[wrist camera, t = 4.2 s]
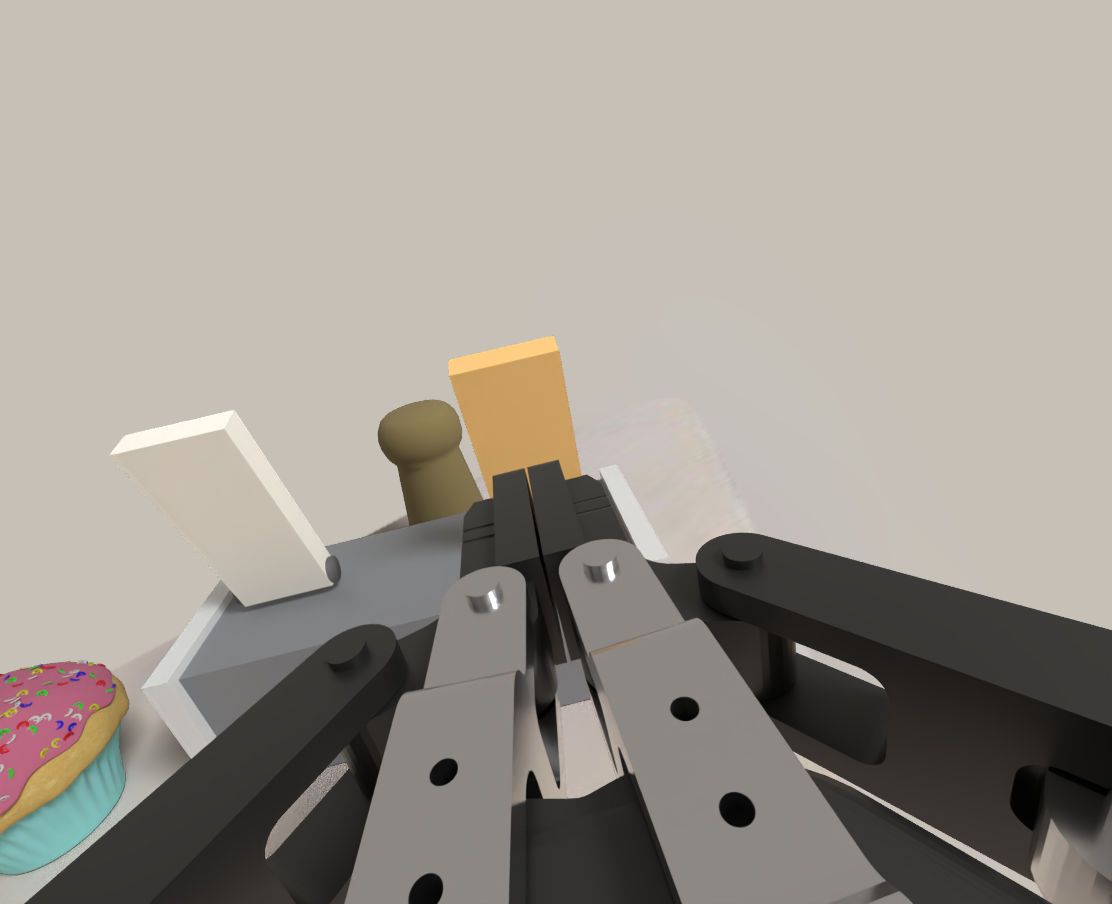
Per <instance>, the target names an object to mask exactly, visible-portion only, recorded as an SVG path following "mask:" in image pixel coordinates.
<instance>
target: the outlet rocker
mask: <svg viewBox="0 0 1112 904" xmlns="http://www.w3.org/2000/svg"><path fill="white" fill-rule="evenodd" d="M449 377H450V380H451V383H452V386H453V389H454V392H455V395H456V397H457V400H458V404H459V407H460V409H461V413H462V416H463V419H464V422H465V425H466V428H467V431H468V434H469V436H470V439H471V442H472V446H473V449H474V452H475V454H476V457H477V460H478V463H479V466H480V469H481V472H482V475H483V478H484V481H485V484H486V487H487V490H488V493H489V496H490V498H493V479H492V476H494V475H498V474H502V473H506V472H510V471H514V470H518V469H522V468H524V469H525V472H526V475H527V479H528V483H529V487H530V481H529V476H528V470H527V467H530V466H534V465H538V464H542V463H546V462H550V461H555V460H559V463H560V466H561V469H562V472H563V475H564V478H565V480H567V479H571V478H575V477H579V476H581V470H580V465H579V459H578V454H577V448H576V442H575V437H574V431H573V426H572V420H571V415H570V409H569V403H568V397H567V392H566V386H565V381H564V376H563V369H562V364H561V358H560V352H559V349H558V346H557V344H556V341H555V338H554V336H549V337H545V338H541V339H537V340H532V341H528V342H523V343H519V344H515V345H511V346H506V347H502V348H498V349H494V350H490V351H485V352H481V353H476V354H472V355H468V356H463V357H459V358H455V359H450V360H449ZM530 490H531V487H530ZM531 494H532V492H531ZM532 498H533V497H532Z"/></svg>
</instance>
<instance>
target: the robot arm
mask: <svg viewBox="0 0 1112 904" xmlns="http://www.w3.org/2000/svg"><path fill="white" fill-rule="evenodd" d="M527 470H528V476H529V481H530V487H531V490H530V487H529V483H528V479H527V475H526V472H525V469H524V468H522V469H518V470H514V471H510V472H506V473H502V474H498V475H494V476H492V479H493V498H490V499H486V500H482V501H478V502H474V503H473V505H472V506H471V507H470V509H469V510H468V512H467V513H466V514H465V516H464V521H463V536H462V543H463V545H462V551H461V567H460V580H458V581H457V582H456V583H455V584H453V585H452V586H451V587H450V589H449V590H448V591H447V593H446V594H445V596H444V599H443V602H442V606H441V611H440V615H439V618H438V619H437V620H435V621H434V622H432V623H431V624H429V625H427V626H425V627H424V628H422V629H420V630H418V631H416V632H413V633H411V634H409V635H407V636H405V637H403V638H401V639H399V640H397V639H396V636H395V634H394V632H393V631H392V630H391V629H390V628H389V627H387V626H384V625H380V624H365V625H361V626H357V627H354V628H351V629H348V630H346V631H344V632H342V633H340V634H338V635H336V636H334V637H333V638H331V639H330V640H328V641H327V642H326V643H325V644H323V645H322V646H321V647H320V648H318V649H317V650H316V651H315V652H314V653H313V654H312V655H310V656H309V657H308V658H307V659H306V660H305V661H303V662H302V663H301V664H300V665H299V666H298V667H297V668H295V669H294V670H293V671H292V672H291V673H290V674H288V675H287V676H286V677H285V678H284V679H283V680H282V681H280V682H279V683H278V684H277V685H276V686H275V687H274V688H272V689H271V690H270V691H269V692H268V693H267V694H265V695H264V696H263V697H262V698H261V699H260V700H259V701H257V702H256V703H255V704H254V705H253V706H252V707H250V708H249V709H248V710H247V711H246V712H245V713H244V714H242V715H241V716H240V717H239V718H238V719H237V720H235V721H234V722H233V723H232V724H231V725H230V726H229V727H227V728H226V729H225V730H224V731H223V732H222V733H221V734H219V735H218V736H217V737H216V738H215V739H214V740H212V741H211V742H210V743H209V744H208V745H207V746H206V747H204V748H203V749H202V750H201V751H200V752H199V753H197V754H196V755H195V756H194V757H193V758H192V759H191V760H189V761H188V762H187V763H186V764H185V765H184V766H182V767H181V768H180V769H179V770H178V771H177V772H176V773H174V774H173V775H172V776H171V777H170V778H169V779H167V780H166V781H165V782H164V783H163V784H162V785H161V786H159V787H158V788H157V789H156V790H155V791H154V792H153V793H151V794H150V795H149V796H148V797H147V798H146V799H144V800H143V801H142V802H141V803H140V804H139V805H138V806H136V807H135V808H134V809H133V810H132V811H131V812H129V813H128V814H127V815H126V816H125V817H124V818H123V819H121V820H120V821H119V822H118V823H117V824H116V825H114V826H113V827H112V828H111V829H110V830H109V831H108V832H106V833H105V834H104V835H103V836H102V837H101V838H99V839H98V840H97V841H96V842H95V843H94V844H93V845H91V846H90V847H89V848H88V849H87V850H86V851H85V852H83V853H82V854H81V855H80V856H79V857H78V858H76V859H75V860H74V861H73V862H72V863H71V864H70V865H68V866H67V867H66V868H65V869H64V870H63V871H61V872H60V873H59V874H58V875H57V876H56V877H55V878H53V879H52V880H51V881H50V882H49V883H48V884H46V885H45V886H44V887H43V888H42V889H41V890H40V891H38V892H37V893H36V894H35V895H34V896H33V897H32V898H30V899H29V900H28V901H27V902H26V903H25V904H1112V630H1109V629H1105V628H1102V627H1098V626H1094V625H1091V624H1087V623H1083V622H1080V621H1076V620H1072V619H1069V618H1064V617H1061V616H1057V615H1053V614H1050V613H1046V612H1042V611H1039V610H1036V609H1032V608H1028V607H1024V606H1021V605H1017V604H1014V603H1010V602H1006V601H1003V600H999V599H995V598H991V597H988V596H984V595H980V594H977V593H973V592H969V591H965V590H962V589H958V588H955V587H951V586H947V585H944V584H940V583H936V582H932V581H929V580H925V579H921V578H918V577H914V576H911V575H907V574H903V573H900V572H896V571H892V570H889V569H885V568H881V567H878V566H874V565H870V564H866V563H863V562H859V561H856V560H852V559H848V558H845V557H841V556H837V555H834V554H830V553H826V552H823V551H819V550H815V549H811V548H808V547H804V546H801V545H797V544H793V543H789V542H786V541H782V540H779V539H775V538H771V537H768V536H764V535H760V534H754V533H732V534H726V535H722V536H719V537H716V538H714V539H712V540H710V541H708V542H707V543H705V544H704V545H703V546H702V547H701V548H700V549H699V551H698V553H697V555H696V563H684V564H667V563H659V562H654V561H651V560H648V559H645V558H644V556H643V555H642V553H641V552H640V550H639V549H638V548H637V547H635V546H634V545H633V544H631V543H629V542H628V541H627V538H626V536H625V534H624V532H623V530H622V528H621V525H620V523H619V521H618V519H617V517H616V515H615V512H614V510H613V508H612V507H611V504H610V502H609V499H608V497H607V496H606V493H605V491H604V489H603V486H602V484H601V483H600V482H599V481H597V480H595V479H593V478H592V477H590V476H588V475H583V476H579V477H575V478H571V479H567V480H565V478H564V475H563V472H562V469H561V466H560V463H559V460H555V461H550V462H546V463H542V464H538V465H534V466H530V467H527ZM531 492H532V494H531ZM532 497H533V498H532ZM557 610H558V612H557ZM558 614H559V617H558ZM559 618H560V621H561V625H562V629H563V633H564V637H565V640H566V644H567V648H568V652H569V656H570V660H571V661H574V660H578V659H581V663H582V667H583V671H584V674H585V678H586V682H587V686H588V690H589V694H590V698H591V701H592V704H593V707H594V710H595V713H596V716H597V720H598V723H599V726H600V729H601V732H602V735H603V738H604V741H605V744H606V747H607V750H608V753H609V756H610V759H611V762H612V765H613V768H614V772H615V775H616V778H617V779H616V780H614V781H612V782H610V783H608V784H607V785H605V786H603V787H601V788H600V789H598V790H596V791H594V792H592V793H591V794H589V795H586V796H584V797H580V798H573V799H567V791H566V777H565V763H564V748H563V734H562V720H561V706H560V700H559V697H558V693H557V687H558V680H557V674H556V668H555V665H559V664H563V663H567V658H566V653H565V648H564V642H563V637H562V632H561V627H560V622H559ZM795 642H796V643H799V644H801V645H804V646H806V647H809V648H811V649H814V650H817V651H819V652H821V653H824V654H826V655H829V656H832V657H834V658H836V659H839V660H841V661H844V662H846V663H849V664H851V665H854V666H857V667H859V668H861V669H863V670H865V671H866V672H868V673H870V674H871V675H872V676H874V677H875V678H876V679H877V680H878V681H879V682H880V683H881V684H882V685H883V687H884V688H885V689H883V688H881V687H878V686H876V685H873V684H871V683H869V682H866V681H864V680H861V679H859V678H856V677H854V676H852V675H849V674H847V673H844V672H842V671H839V670H837V669H835V668H832V667H830V666H827V665H825V664H823V663H820V662H817V661H815V660H813V659H810V658H808V657H806V656H803V655H801V654H798V653H796V644H795ZM793 751H794V752H795V753H797V754H799V755H801V756H803V757H805V758H807V759H808V760H810V761H812V762H814V763H816V764H818V765H819V766H821V767H823V768H825V769H827V770H829V771H831V772H832V773H834V774H836V775H838V776H840V777H842V778H843V779H845V780H847V781H849V782H851V783H853V784H855V785H856V786H858V787H860V788H862V789H864V790H866V791H867V792H869V793H871V794H873V795H875V796H877V797H879V798H880V799H882V800H884V801H886V802H888V803H890V804H891V805H893V806H895V807H897V808H899V809H901V810H903V811H904V812H906V813H908V814H910V815H912V816H914V817H916V818H917V819H919V820H921V821H923V822H925V823H927V824H928V825H930V826H932V827H934V828H936V829H938V830H939V831H942V832H943V833H945V834H947V835H949V836H951V837H952V838H954V839H956V840H958V841H960V842H962V843H963V844H965V845H967V846H969V847H971V848H973V849H975V850H976V851H978V852H980V853H982V854H984V855H986V856H987V857H989V858H991V859H993V860H995V861H997V862H998V863H1000V864H1002V865H1004V866H1006V867H1008V868H1010V869H1012V870H1013V871H1015V872H1017V873H1019V874H1021V875H1023V876H1024V877H1026V878H1028V879H1030V880H1032V881H1034V882H1035V883H1036V884H1037V886H1038V888H1039V890H1040V892H1041V894H1042V895H1043V897H1044V898H1045V899H1044V898H1042V897H1040V896H1038V895H1037V894H1035V893H1033V892H1032V891H1030V890H1028V889H1026V888H1024V887H1023V886H1021V885H1020V884H1018V883H1016V882H1014V881H1012V880H1011V879H1009V878H1008V877H1006V876H1004V875H1002V874H1001V873H999V872H997V871H995V870H994V869H992V868H990V867H989V866H987V865H985V864H983V863H981V862H980V861H978V860H977V859H975V858H973V857H971V856H970V855H968V854H966V853H965V852H963V851H961V850H959V849H958V848H956V847H954V846H953V845H951V844H949V843H947V842H945V841H944V840H942V839H940V838H939V837H937V836H935V835H934V834H932V833H930V832H928V831H926V830H925V829H923V828H922V827H920V826H918V825H916V824H915V823H913V822H911V821H909V820H907V819H906V818H904V817H903V816H901V815H899V814H898V813H896V812H894V811H892V810H891V809H889V808H887V807H885V806H884V805H882V804H880V803H879V802H877V801H875V800H873V799H872V798H870V797H868V796H867V795H865V794H863V793H861V792H859V791H858V790H856V789H854V788H852V787H850V786H848V785H846V784H844V783H841V782H839V781H837V780H835V779H832V778H830V777H828V776H825V775H822V774H819V773H816V772H813V771H811V770H808V769H804V767H803V766H802V764H801V763H800V761H799V760H798V758H797V757H796V755H795V754H794V752H793ZM340 753H341V754H342V756H343V758H344V760H345V761H346V763H347V765H348V767H349V769H348V771H347V772H346V773H345V774H344V775H343V776H342V777H341V778H340V780H339V781H338V782H337V783H336V784H335V785H334V786H333V787H332V789H331V790H330V791H329V792H328V793H327V794H326V795H325V796H324V798H323V799H322V800H321V801H320V802H319V803H318V804H317V805H316V807H315V808H314V809H313V810H312V811H311V812H310V813H309V814H308V816H307V817H306V818H305V819H304V820H303V821H302V822H301V823H300V825H299V826H298V827H297V828H296V829H295V830H294V831H293V832H292V834H291V835H290V836H289V837H288V838H287V839H286V840H285V841H284V843H283V844H282V845H281V846H280V847H279V848H278V849H277V850H276V851H275V852H274V853H273V854H272V855H271V856H270V857H269V858H267V859H265V847H266V843H267V840H268V837H269V835H270V832H271V831H272V829H273V827H274V826H275V824H276V823H277V821H278V820H279V819H280V818H281V816H282V815H283V814H284V813H285V812H286V811H287V810H288V809H289V808H290V807H291V805H292V804H293V803H294V802H295V801H296V800H297V799H298V798H299V797H300V796H301V795H302V794H303V793H304V791H305V790H306V789H307V788H308V787H309V786H310V785H311V784H312V783H313V782H314V781H315V780H316V778H317V777H318V776H319V775H320V774H321V773H322V772H323V771H324V770H325V769H326V768H327V767H328V766H329V764H330V763H331V762H332V761H333V760H334V759H335V758H336V757H337V756H338V755H339V754H340Z"/></svg>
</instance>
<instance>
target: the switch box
mask: <svg viewBox="0 0 1112 904" xmlns="http://www.w3.org/2000/svg"><path fill="white" fill-rule="evenodd" d="M599 471H600V476H601V480H597V481H599V482H600V483H601V484H602V486H603V489H604V491H605V493H606V496H607V497H608V499H609V502H610V504H611V507H612V508H613V510H614V512H615V515H616V517H617V519H618V521H619V523H620V525H621V528H622V530H623V532H624V534H625V536H626V538H627V541H628V542H629V543H631V544H633V545H634V546H635V547H637V548H638V549H639V550H640V552H641V553H642V555H643V556H644V558H645V559H648V560H651V561H654V562H659V563H667V564H670V562H669V557H668V555H667V553H666V551H665V549H664V548H663V546H662V544H661V542H660V541H659V539H658V537H657V535H656V534H655V532H654V530H653V528H652V526H651V525H650V523H649V521H648V519H647V518H646V516H645V514H644V512H643V510H642V509H641V507H640V505H639V503H638V502H637V500H636V498H635V496H634V494H633V493H632V491H631V489H630V487H629V486H628V484H627V482H626V480H625V478H624V477H623V475H622V473H621V471H620V470H619V468H618V466H617V465H613V466H609V467H605V468H600V469H599ZM466 513H467V512H465V513H461V514H457V515H453V516H449V517H445V518H440V519H436V520H432V521H428V522H424V523H420V524H416V525H412V526H408V527H404V528H399V529H395V530H391V531H387V532H383V533H379V534H375V535H371V536H367V537H362V538H358V539H354V540H350V541H346V542H342V543H338V544H334V545H330V546H326V547H325V548H326V549H327V551H328V552H329V554H330V555H331V556H333V555H334V556H336V557H337V559H338V560H339V563H340V567H341V578H340V580H339V581H338V582H334V583H333V585H332V586H328V587H324V588H320V589H316V590H312V591H308V592H304V593H299V594H295V595H291V596H287V597H283V598H279V599H275V600H271V601H267V602H263V603H259V604H255V605H251V606H247V607H245V606H244V605H238V604H237V603H236V602H235V600H234V598H233V595H232V591H231V590H230V589H229V588H228V587H227V586H226V585H225V584H224V583H223V581H222V580H220V581H219V583H218V584H217V586H216V587H215V588H214V590H213V591H212V592H211V594H210V596H209V597H208V598H207V599H206V601H205V602H204V603H203V605H202V606H201V607H200V609H199V610H198V612H197V613H196V614H195V616H194V617H193V618H192V620H191V621H190V623H189V624H188V625H187V627H186V628H185V629H184V631H183V632H182V633H181V635H180V636H179V637H178V639H177V640H176V642H175V643H174V644H173V646H172V647H171V648H170V650H169V651H168V653H167V654H166V655H165V657H164V658H163V659H162V661H161V662H160V663H159V665H158V666H157V668H156V669H155V670H154V672H153V673H152V674H151V676H150V677H149V678H148V680H147V681H146V683H145V684H144V685H143V687H142V688H141V690H142V692H143V693H144V694H145V696H146V697H147V698H148V700H149V701H150V703H151V704H152V705H153V707H154V708H155V710H156V711H157V712H158V714H159V715H160V717H161V718H162V719H163V721H164V722H165V724H166V725H167V726H168V728H169V729H170V730H171V732H172V733H173V735H174V736H175V737H176V739H177V740H178V742H179V743H180V744H181V746H182V747H183V749H184V750H185V751H186V753H187V754H188V755H189V757H190V758H191V759H192V758H193V757H194V756H195V755H196V754H197V753H199V752H200V751H201V750H202V749H203V748H204V747H206V746H207V745H208V744H209V743H210V742H211V741H212V740H214V739H215V738H216V737H217V736H218V735H219V734H221V733H222V732H223V731H224V730H225V729H226V728H227V727H229V726H230V725H231V724H232V723H233V722H234V721H235V720H237V719H238V718H239V717H240V716H241V715H242V714H244V713H245V712H246V711H247V710H248V709H249V708H250V707H252V706H253V705H254V704H255V703H256V702H257V701H259V700H260V699H261V698H262V697H263V696H264V695H265V694H267V693H268V692H269V691H270V690H271V689H272V688H274V687H275V686H276V685H277V684H278V683H279V682H280V681H282V680H283V679H284V678H285V677H286V676H287V675H288V674H290V673H291V672H292V671H293V670H294V669H295V668H297V667H298V666H299V665H300V664H301V663H302V662H303V661H305V660H306V659H307V658H308V657H309V656H310V655H312V654H313V653H314V652H315V651H316V650H317V649H318V648H320V647H321V646H322V645H323V644H325V643H326V642H327V641H328V640H330V639H331V638H333V637H334V636H336V635H338V634H340V633H342V632H344V631H346V630H348V629H351V628H354V627H357V626H361V625H365V624H380V625H384V626H387V627H389V628H390V629H391V630H392V631H393V632H394V634H395V636H396V639H397V640H399V639H401V638H403V637H405V636H407V635H409V634H411V633H413V632H416V631H418V630H420V629H422V628H424V627H425V626H427V625H429V624H431V623H432V622H434V621H435V620H437V619H438V618H439V615H440V611H441V606H442V602H443V599H444V596H445V594H446V593H447V591H448V590H449V589H450V587H451V586H452V585H453V584H455V583H456V582H457V581H458V580H460V567H461V551H462V545H463V543H462V536H463V521H464V516H465V514H466ZM557 612H558V610H557ZM558 617H559V614H558ZM559 622H560V627H561V632H562V637H563V642H564V648H565V653H566V658H567V663H563V664H559V665H555V668H556V674H557V680H558V687H557V693H558V697H559V700H560V706H564V705H568V704H572V703H576V702H580V701H584V700H588V699H591V698H590V694H589V690H588V686H587V682H586V678H585V674H584V671H583V667H582V663H581V659H578V660H574V661H571V660H570V656H569V652H568V648H567V644H566V640H565V637H564V633H563V629H562V625H561V621H560V618H559ZM344 762H346V761H345V760H344V758H343V756H342V754H341V753H340V754H339V755H338V756H337V757H336V758H335V759H334V760H333V761H332V762H331V763H330V764H329V766H332V765H336V764H340V763H344Z"/></svg>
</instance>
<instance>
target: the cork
mask: <svg viewBox="0 0 1112 904" xmlns="http://www.w3.org/2000/svg"><path fill="white" fill-rule="evenodd" d="M461 439H462V427H461V424H460V420H459V416H458V415H457V413H456V411H455V410H454V408H452V407H451V406H450V405H449V404H448V403H446V402H444V401H439V400H424V401H419V402H414V403H411V404H408V405H405V406H402V407H400V408H397V409H396V410H393V411H392V412H390V413H388V414H387V415H386V416H385V417H384V418H383V419H382V420H381V422H380V426H379V430H378V442H379V445H380V447H381V450H382V451H383V453H384V454H385V456H386V457H387V458H388V459H389V460H390V461H391V462H392V463H394V464H395V465H397V467H398V471H399V477H400V482H401V487H402V491H403V496H404V501H405V505H406V510H407V516H408V520H409V525H410V526H412V525H416V524H420V523H424V522H428V521H432V520H436V519H440V518H445V517H449V516H453V515H457V514H461V513H465V512H468V510H469V509H470V507H471V506H472V505H473V503H474V502H478V501H482V500H483V498H482V496H481V493H480V491H479V489H478V487H477V485H476V483H475V480H474V478H473V476H472V474H471V472H470V470H469V468H468V465H467V463H466V461H465V459H464V457H463V455H462V452H461V450H460V448H459V444H460V441H461Z"/></svg>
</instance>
